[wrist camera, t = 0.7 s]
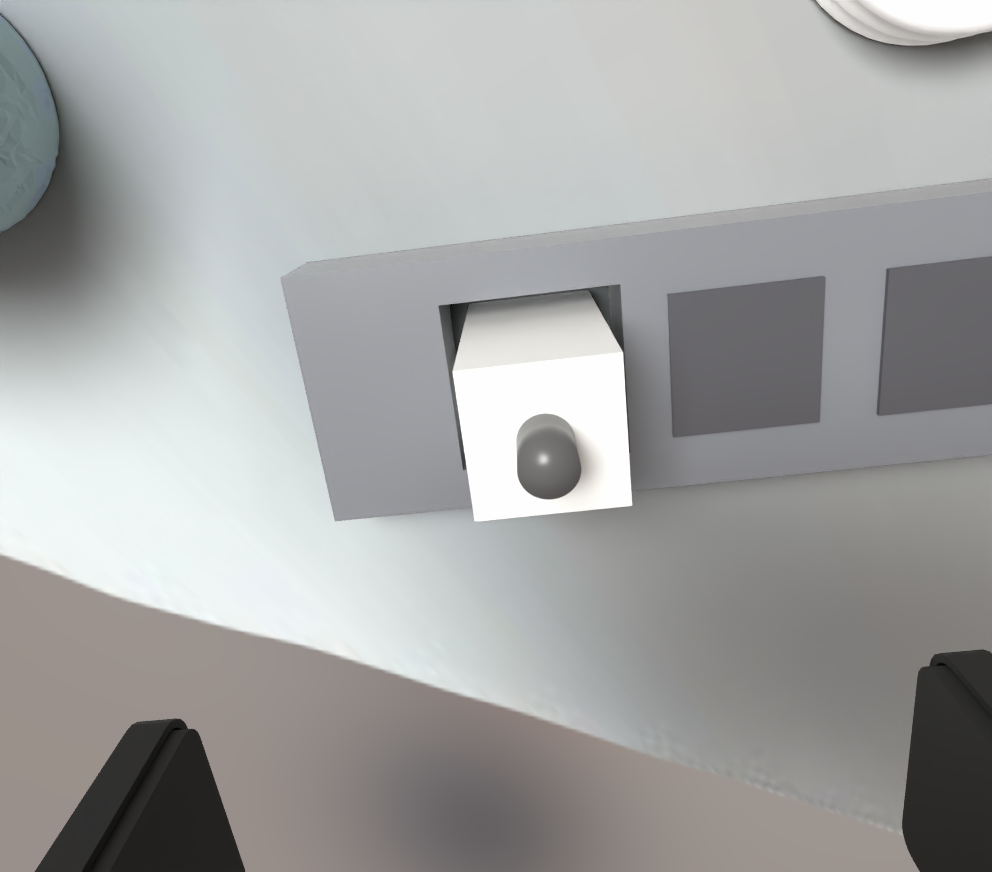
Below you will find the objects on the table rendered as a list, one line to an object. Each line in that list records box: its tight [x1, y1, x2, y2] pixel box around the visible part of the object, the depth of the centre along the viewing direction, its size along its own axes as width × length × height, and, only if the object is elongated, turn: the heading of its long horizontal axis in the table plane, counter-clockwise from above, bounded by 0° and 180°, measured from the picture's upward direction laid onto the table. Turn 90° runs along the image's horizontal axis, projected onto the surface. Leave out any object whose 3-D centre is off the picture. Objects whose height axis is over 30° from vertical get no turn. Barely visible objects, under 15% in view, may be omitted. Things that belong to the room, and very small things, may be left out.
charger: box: [453, 290, 632, 522], centre depth 24 cm, size 4×4×11 cm
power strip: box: [281, 179, 992, 521], centre depth 26 cm, size 28×9×4 cm, turn 97°
